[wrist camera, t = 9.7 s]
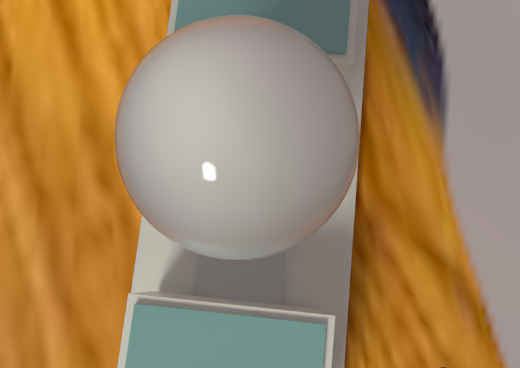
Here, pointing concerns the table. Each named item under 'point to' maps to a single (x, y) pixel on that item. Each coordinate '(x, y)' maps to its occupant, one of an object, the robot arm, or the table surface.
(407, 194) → the table surface
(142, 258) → the module rail
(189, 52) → the lightbulb
